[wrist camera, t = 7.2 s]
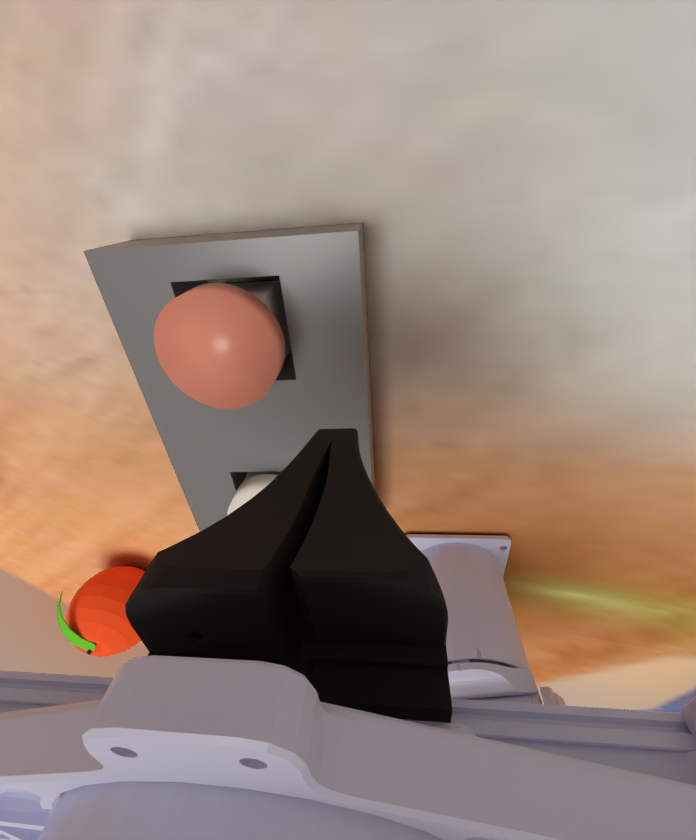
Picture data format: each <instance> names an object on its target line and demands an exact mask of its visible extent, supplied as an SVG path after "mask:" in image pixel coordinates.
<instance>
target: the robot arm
mask: <svg viewBox="0 0 696 840" xmlns="http://www.w3.org/2000/svg"><path fill="white" fill-rule="evenodd" d="M510 547H511V540H510V538H509V537H508V536H496V535H436V534H407V535H405V534H404V532H403V531H402V530H401V529H400V527H399V526H398V525H397V523H396V522H395V521H394V519H393V518H392V517H391V515H390V514H389V513H388V511H387V510H386V508H385V506H384V505H383V503H382V502H381V500H380V498H379V497H378V495H377V493H376V491H375V489H374V487H373V485H372V483H371V481H370V479H369V477H368V475H367V472H366V470H365V467H364V464H363V461H362V459H361V456H360V451H359V439H358V431H357V430H356V429H355V428H343V429H319V430H318V431H317V432H316V433H315V434H314V435H313V436H312V438H311V439H310V440H309V441H308V443H307V444H306V445H305V446H304V447H303V449H302V450H301V451H300V452H299V453H298V454H297V456H296V457H295V458H294V459H293V460H292V461H291V462H290V463H289V465H288V466H287V467H286V468H285V469H284V470H283V471H282V472H281V473H280V474H279V475H278V476H277V477H276V478H275V479H274V480H273V481H272V482H271V483H269V484H268V485H267V486H266V487H265V488H264V489H263V490H261V491H260V492H259V493H258V494H257V495H255V496H254V497H253V498H251V499H250V500H249V501H247V502H246V503H245V504H243V505H242V506H240V507H239V508H237V509H236V510H235V511H233V512H232V513H230V514H229V515H227V516H226V517H224V518H223V519H221V520H219V521H218V522H216V523H214V524H213V525H211V526H209V527H208V528H206V529H204V530H202V531H201V532H199V533H197V534H195V535H193V536H191V537H189V538H187V539H185V540H183V541H181V542H179V543H177V544H175V545H173V546H171V547H169V548H167V549H164V550H162V551H160V552H158V553H157V555H156V556H155V557H154V559H153V560H152V562H151V563H150V565H149V566H148V568H147V569H146V571H145V573H144V574H143V576H142V578H141V579H140V581H139V582H138V584H137V586H136V587H135V589H134V591H133V592H132V594H131V596H130V597H129V599H128V601H127V603H126V604H125V612H126V616H127V618H128V620H129V622H130V624H131V626H132V627H133V629H134V630H135V632H136V633H137V635H138V636H139V637H140V639H141V640H142V642H143V643H144V645H145V646H146V647H147V649H148V650H149V654H148V656H143V657H135V658H132V659H130V660H128V661H127V662H126V663H125V664H123V666H121V667H120V668H119V669H118V671H117V673H116V675H115V676H114V678H110V677H95V676H79V675H78V676H77V675H63V674H62V675H61V674H46V673H30V672H14V671H0V840H696V697H694V698H692V699H691V700H689V701H688V702H687V703H686V705H685V707H684V709H683V711H682V713H673V712H657V711H641V710H625V709H609V708H593V707H576V706H566V705H565V702H564V700H563V698H561V697H560V696H559V695H558V694H556V693H553V691H552V689H551V688H550V687H540V691H541V694H542V698H543V701H544V705H543V704H542V701H541V698H540V695H539V692H538V689H537V686H536V683H535V680H534V678H533V675H532V672H531V669H530V668H529V665H528V661H527V658H526V655H525V651H524V648H523V645H522V641H521V638H520V634H519V631H518V628H517V624H516V621H515V617H514V614H513V611H512V607H511V604H510V601H509V597H508V594H507V590H506V587H505V584H504V580H503V577H504V572H505V568H506V564H507V560H508V555H509V551H510Z"/></svg>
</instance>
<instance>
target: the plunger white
mask: <svg viewBox="0 0 696 840" xmlns="http://www.w3.org/2000/svg"><path fill="white" fill-rule="evenodd" d="M280 473H281V472H248V473H247V475H246V477H245V479H244V481H243V483H242V484H241V485H240V486H239V487H238V489H237V491H236V493H235V495H234V497H233V499H232V502H231V504H230V506H229V508H228V512H227V515H229V514H230V513H232V512H233V511H235V510H236V509H237V508H239V507H240V506H242V505H243V504H245V503H246V502H247V501H249V500H250V499H251V498H253V497H254V496H255V495H257V494H258V493H259V492H260V491H261V490H263V489H264V488H265V487H266V486H267V485H268V484H269V483H271V482H272V481H273V480H274V479H275V478H276V477H277V476H278V475H279V474H280Z"/></svg>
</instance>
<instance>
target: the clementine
mask: <svg viewBox="0 0 696 840" xmlns="http://www.w3.org/2000/svg"><path fill="white" fill-rule="evenodd" d="M144 573H145V571H144V570H142V569H139V568H136V567H130V566H121V567H114V568H111V569H108V570H105V571H102V572H99V573H98V574H96V575H95V576H93V577H92V578H90V579H89V580H88V581H87V582H86V583H85V584H84V585H83V586H82V587H81V588H80V589H79V590H78V591H77V592H76V594H75V596H74V597H73V599H72V601H71V603H70V606H69V609H68V613H67V617H66V622H65V620H64V618H63V616H62V614H61V608H60V602H61V597H62V593H61V596H60V599H59V602H58V605H57V619H58V622H59V625H60V628H61V630H62V632H63V634H64V635H65V636H66V638H67V639H68V640H69V641H70V642H71V643H73V644H74V645H75V646H76V647H77V648H78V649H79V650H81V651H82V652H84V653H87V654H89V655H93V656H99V657H103V656H110V655H113V654H117V653H121V652H124V651H125V650H127V649H129V648H131V647H132V646H134V645H136V644H137V643H138V642H139V641H141V639H140V637H139V636H138V635H137V633H136V632H135V630H134V629H133V627H132V626H131V624H130V622H129V620H128V618H127V616H126V612H125V604H126V603H127V601H128V599H129V597H130V596H131V594H132V592H133V591H134V589H135V587H136V586H137V584H138V582H139V581H140V579H141V578H142V576H143V574H144ZM62 592H63V591H62Z"/></svg>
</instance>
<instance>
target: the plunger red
mask: <svg viewBox="0 0 696 840" xmlns="http://www.w3.org/2000/svg"><path fill="white" fill-rule="evenodd" d="M154 347H155V351H156V355H157V358H158V360H159V362H160V365H161V367H162V368H163V370H164V372H165V373H166V375H167V376H168V377H169V379H170V380H171V381H172V382H173V383H174V384H175V385H176V386H177V387H178V388H179V389H180V390H181V391H182V392H184V393H185V394H186V395H188V396H189V397H191V398H193V399H194V400H196V401H198V402H200V403H202V404H205V405H208V406H211V407H215V408H221V409H239V408H244V407H247V406H250V405H252V404H254V403H256V402H258V401H259V400H261V399H262V398H263V397H264V396H265V395H266V394H267V393H268V392H269V390H270V389H271V387H272V386H273V384H274V382H275V380H276V378H277V377H278V375H279V373H280V371H281V369H282V366H283V363H284V360H285V359H286V357H287V355H288V353H289V352H290V350H291V345H290V339H289V332H288V326H287V320H286V314H285V308H284V302H283V296H282V290H281V284H280V281H264V282H248V283H231V284H225V283H207V284H203V285H199V286H196V287H194V288H192V289H190V290H188V291H187V292H185V293H183V294H181V295H179V296H178V297H176V298H174V299H173V300H171V301H170V302H169V303H168V304H167V305H166V306H165V307H164V308H163V309H162V311H161V312H160V313H159V316H158V318H157V320H156V323H155V327H154Z"/></svg>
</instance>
